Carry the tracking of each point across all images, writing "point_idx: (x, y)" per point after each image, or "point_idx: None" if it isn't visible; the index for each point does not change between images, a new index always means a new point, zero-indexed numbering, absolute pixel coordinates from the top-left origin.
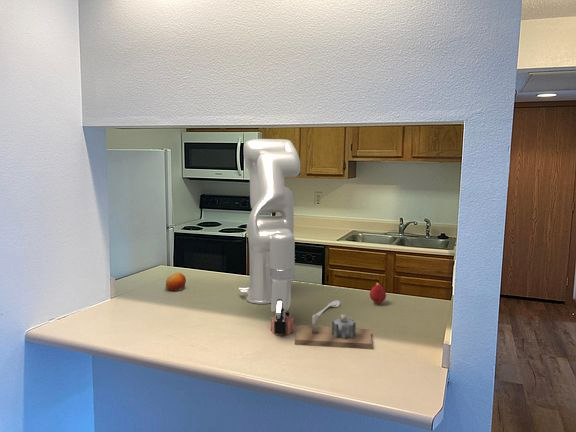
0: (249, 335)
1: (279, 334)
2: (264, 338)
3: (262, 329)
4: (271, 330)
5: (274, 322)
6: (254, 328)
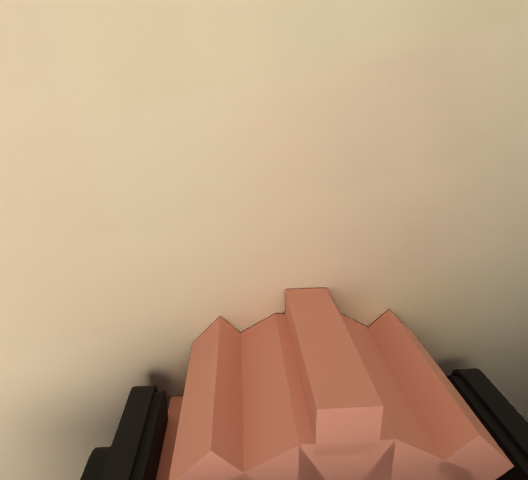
0: (57, 12)
1: (170, 408)
2: (23, 260)
3: (327, 168)
4: (286, 298)
5: (178, 474)
6: (356, 33)
